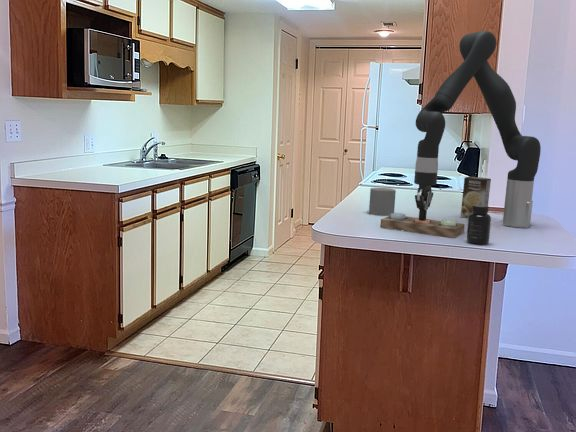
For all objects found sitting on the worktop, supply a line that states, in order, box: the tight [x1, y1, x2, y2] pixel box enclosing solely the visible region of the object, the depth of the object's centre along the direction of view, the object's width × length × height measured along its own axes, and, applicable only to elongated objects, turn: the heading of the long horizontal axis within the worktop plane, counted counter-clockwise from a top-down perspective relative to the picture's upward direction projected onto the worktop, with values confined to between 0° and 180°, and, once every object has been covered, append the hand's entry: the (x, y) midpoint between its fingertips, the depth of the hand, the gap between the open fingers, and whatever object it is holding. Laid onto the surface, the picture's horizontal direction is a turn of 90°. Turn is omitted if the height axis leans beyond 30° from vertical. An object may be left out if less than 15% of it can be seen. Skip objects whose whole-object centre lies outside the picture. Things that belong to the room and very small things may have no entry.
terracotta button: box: [415, 219, 431, 224], centre depth 201 cm, size 5×5×3 cm
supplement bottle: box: [466, 205, 492, 246], centre depth 183 cm, size 7×7×12 cm
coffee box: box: [460, 175, 492, 219], centre depth 229 cm, size 9×6×16 cm
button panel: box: [379, 215, 466, 239], centre depth 201 cm, size 26×12×3 cm, turn 58°
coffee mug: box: [368, 186, 397, 217], centre depth 233 cm, size 13×10×10 cm
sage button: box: [440, 218, 457, 227], centre depth 196 cm, size 5×5×3 cm
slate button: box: [391, 212, 406, 220], centre depth 205 cm, size 5×5×3 cm
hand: (422, 220), depth 201 cm, fingers closed
